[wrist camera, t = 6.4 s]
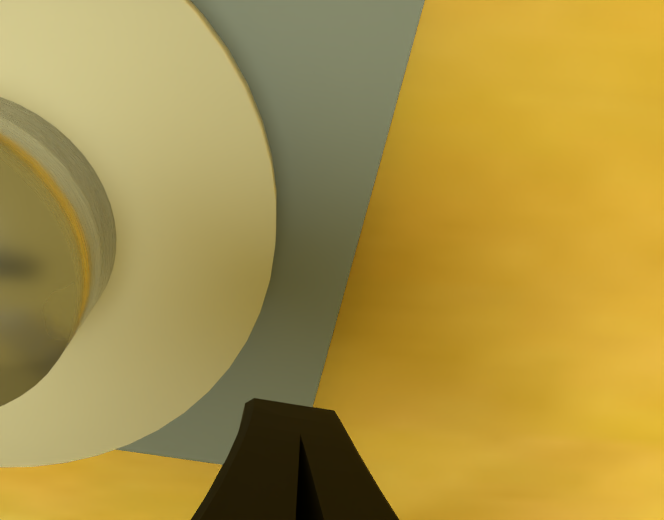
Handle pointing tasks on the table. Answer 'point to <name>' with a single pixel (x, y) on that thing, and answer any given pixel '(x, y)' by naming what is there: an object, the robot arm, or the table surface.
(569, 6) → the table surface
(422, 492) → the table surface
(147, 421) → the turntable
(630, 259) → the table surface
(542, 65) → the table surface
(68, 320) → the cover
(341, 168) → the base plate
